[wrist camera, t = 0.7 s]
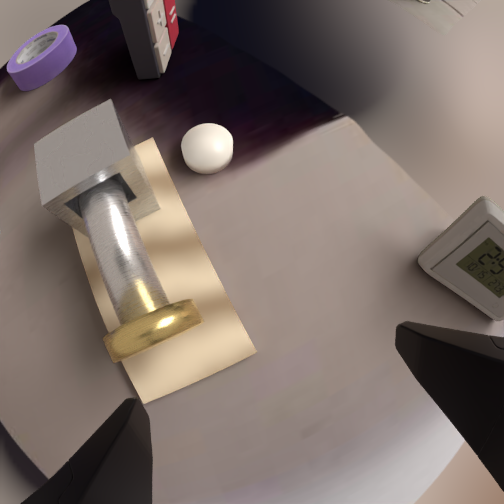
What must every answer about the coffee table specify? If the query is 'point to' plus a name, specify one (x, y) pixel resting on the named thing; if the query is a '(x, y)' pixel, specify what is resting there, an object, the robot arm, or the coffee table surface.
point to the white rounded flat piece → (207, 148)
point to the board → (174, 294)
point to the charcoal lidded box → (148, 33)
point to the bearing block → (90, 165)
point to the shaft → (130, 276)
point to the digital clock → (472, 257)
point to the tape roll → (42, 57)
